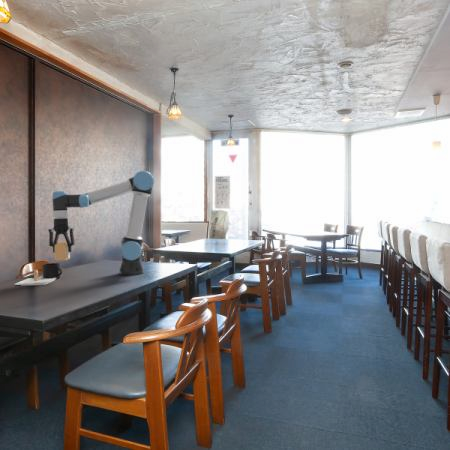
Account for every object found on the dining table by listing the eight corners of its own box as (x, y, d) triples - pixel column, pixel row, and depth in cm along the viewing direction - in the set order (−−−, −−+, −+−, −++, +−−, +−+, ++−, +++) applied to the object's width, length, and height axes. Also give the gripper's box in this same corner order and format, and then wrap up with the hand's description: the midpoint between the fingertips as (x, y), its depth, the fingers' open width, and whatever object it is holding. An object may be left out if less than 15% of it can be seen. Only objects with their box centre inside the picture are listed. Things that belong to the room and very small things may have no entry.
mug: (56, 281, 215) (56, 265, 215) (39, 280, 218) (38, 265, 217) (67, 278, 224) (66, 263, 224) (50, 277, 227) (49, 262, 226)
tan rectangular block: (69, 258, 218) (69, 241, 217) (66, 260, 212) (65, 242, 211) (59, 259, 217) (58, 242, 217) (55, 260, 211) (54, 243, 211)
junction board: (58, 278, 222) (58, 266, 222) (45, 284, 202) (44, 272, 202) (30, 278, 221) (30, 267, 220) (14, 285, 201) (14, 272, 201)
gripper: (79, 217, 218) (81, 256, 219) (46, 218, 216) (48, 257, 217) (75, 217, 210) (77, 258, 211) (40, 218, 209) (43, 259, 210)
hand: (62, 257), depth 214 cm, fingers closed on tan rectangular block, 6 cm apart
